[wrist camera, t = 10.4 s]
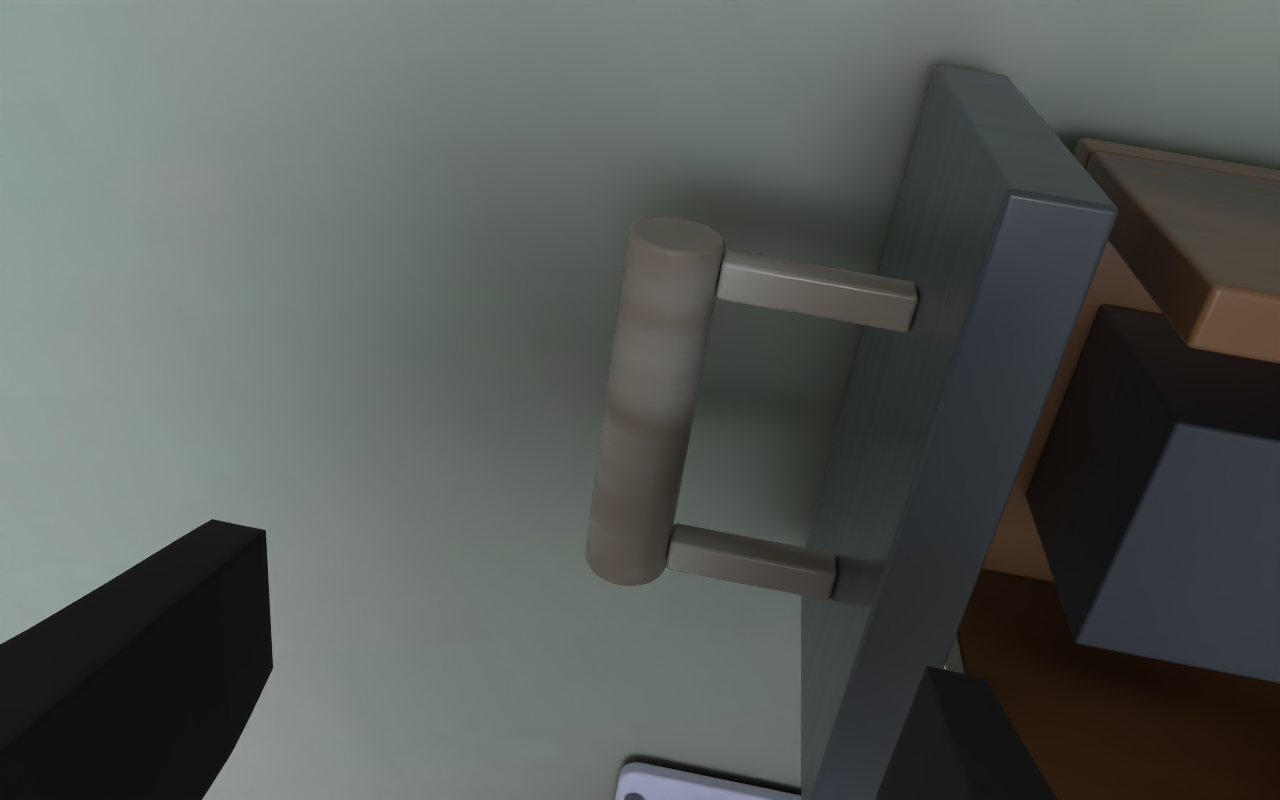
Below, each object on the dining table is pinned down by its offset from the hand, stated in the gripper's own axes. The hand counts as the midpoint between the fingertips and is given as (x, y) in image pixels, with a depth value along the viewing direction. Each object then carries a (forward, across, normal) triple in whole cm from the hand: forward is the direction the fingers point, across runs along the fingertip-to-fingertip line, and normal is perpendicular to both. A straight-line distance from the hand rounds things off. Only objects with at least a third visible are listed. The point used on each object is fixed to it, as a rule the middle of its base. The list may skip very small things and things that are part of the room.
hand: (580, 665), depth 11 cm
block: (+8, -9, 0) cm, 12 cm away
